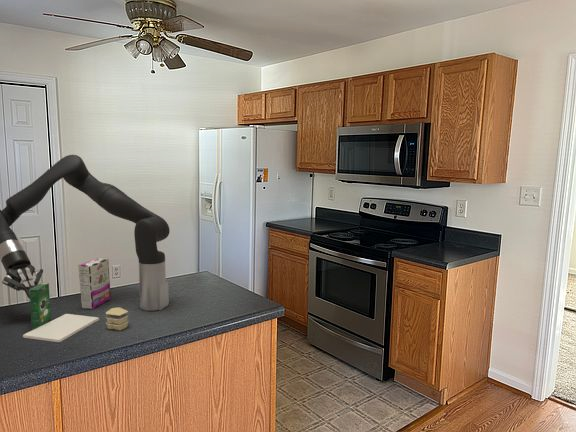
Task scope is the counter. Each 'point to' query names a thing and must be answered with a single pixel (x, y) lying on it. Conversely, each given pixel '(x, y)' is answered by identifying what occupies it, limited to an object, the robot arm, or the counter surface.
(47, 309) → the coffee box
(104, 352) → the counter surface
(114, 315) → the layered sandwich
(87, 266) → the candy bar box
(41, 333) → the cutting board
